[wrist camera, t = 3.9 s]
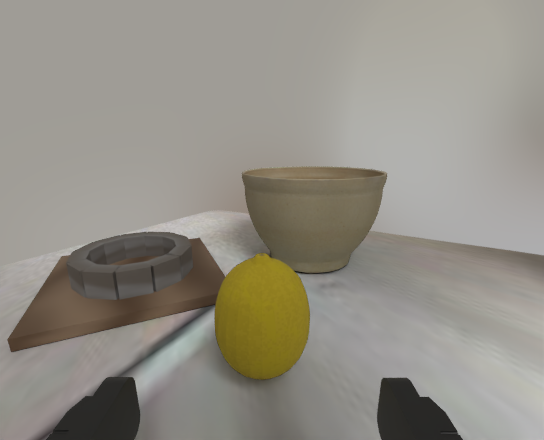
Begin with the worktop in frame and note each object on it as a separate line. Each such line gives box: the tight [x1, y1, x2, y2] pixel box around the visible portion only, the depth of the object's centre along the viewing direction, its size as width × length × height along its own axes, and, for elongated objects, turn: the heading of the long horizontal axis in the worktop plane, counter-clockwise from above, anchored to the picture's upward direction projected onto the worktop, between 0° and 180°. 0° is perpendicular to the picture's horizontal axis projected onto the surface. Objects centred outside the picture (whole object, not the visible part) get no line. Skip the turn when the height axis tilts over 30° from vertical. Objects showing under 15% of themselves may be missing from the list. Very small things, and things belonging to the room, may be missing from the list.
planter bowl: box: [242, 167, 387, 273], centre depth 34 cm, size 16×16×11 cm
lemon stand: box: [8, 232, 225, 352], centre depth 29 cm, size 16×16×4 cm
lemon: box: [215, 253, 310, 380], centre depth 17 cm, size 6×6×8 cm
